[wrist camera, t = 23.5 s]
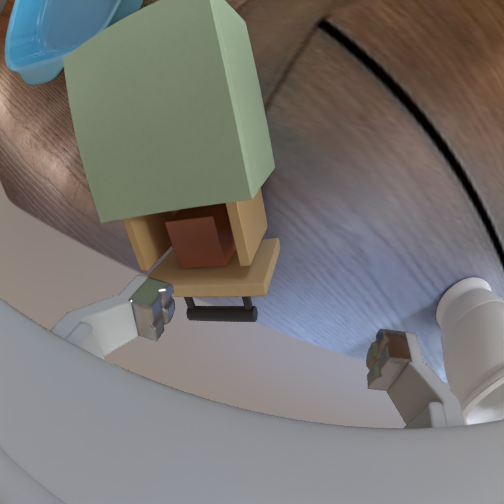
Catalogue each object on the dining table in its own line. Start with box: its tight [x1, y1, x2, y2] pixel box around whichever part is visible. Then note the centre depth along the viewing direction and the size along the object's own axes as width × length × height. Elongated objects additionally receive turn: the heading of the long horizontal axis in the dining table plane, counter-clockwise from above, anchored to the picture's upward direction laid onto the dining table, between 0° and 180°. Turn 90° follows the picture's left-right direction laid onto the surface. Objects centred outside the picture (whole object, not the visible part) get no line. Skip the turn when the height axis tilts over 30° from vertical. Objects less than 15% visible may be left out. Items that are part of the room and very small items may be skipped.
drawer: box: [122, 187, 280, 322], centre depth 24 cm, size 18×12×8 cm, turn 11°
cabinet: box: [63, 0, 275, 223], centre depth 20 cm, size 15×13×10 cm
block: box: [165, 203, 236, 268], centre depth 25 cm, size 4×4×4 cm
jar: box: [436, 277, 504, 425], centre depth 20 cm, size 11×10×15 cm
